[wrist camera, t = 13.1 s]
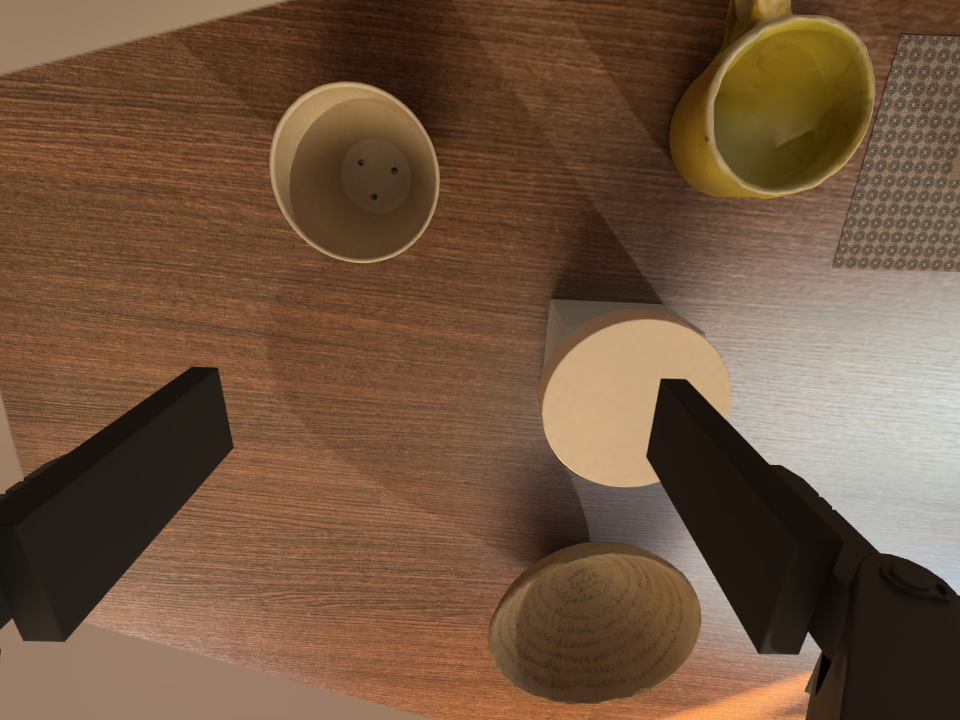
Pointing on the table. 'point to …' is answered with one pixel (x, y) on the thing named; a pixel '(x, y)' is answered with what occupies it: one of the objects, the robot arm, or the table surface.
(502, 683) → the table surface
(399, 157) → the flower pot
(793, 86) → the mug
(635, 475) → the small plate
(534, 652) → the bowl
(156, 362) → the table surface
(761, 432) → the table surface
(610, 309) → the container
